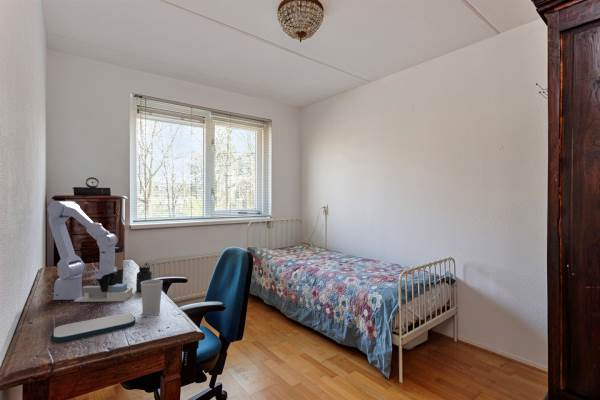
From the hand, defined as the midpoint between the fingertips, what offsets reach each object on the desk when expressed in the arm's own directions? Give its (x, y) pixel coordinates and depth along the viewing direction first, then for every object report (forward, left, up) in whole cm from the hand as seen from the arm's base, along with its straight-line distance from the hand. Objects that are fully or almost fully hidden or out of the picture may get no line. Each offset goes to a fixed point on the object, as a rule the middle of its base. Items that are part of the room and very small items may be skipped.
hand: (106, 290), depth 138 cm
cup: (+26, -18, -4) cm, 32 cm away
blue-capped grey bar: (0, 0, -2) cm, 2 cm away
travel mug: (-6, +20, -4) cm, 21 cm away
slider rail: (0, 0, -3) cm, 3 cm away
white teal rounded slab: (+13, -33, -4) cm, 36 cm away
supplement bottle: (+12, +11, -4) cm, 17 cm away
